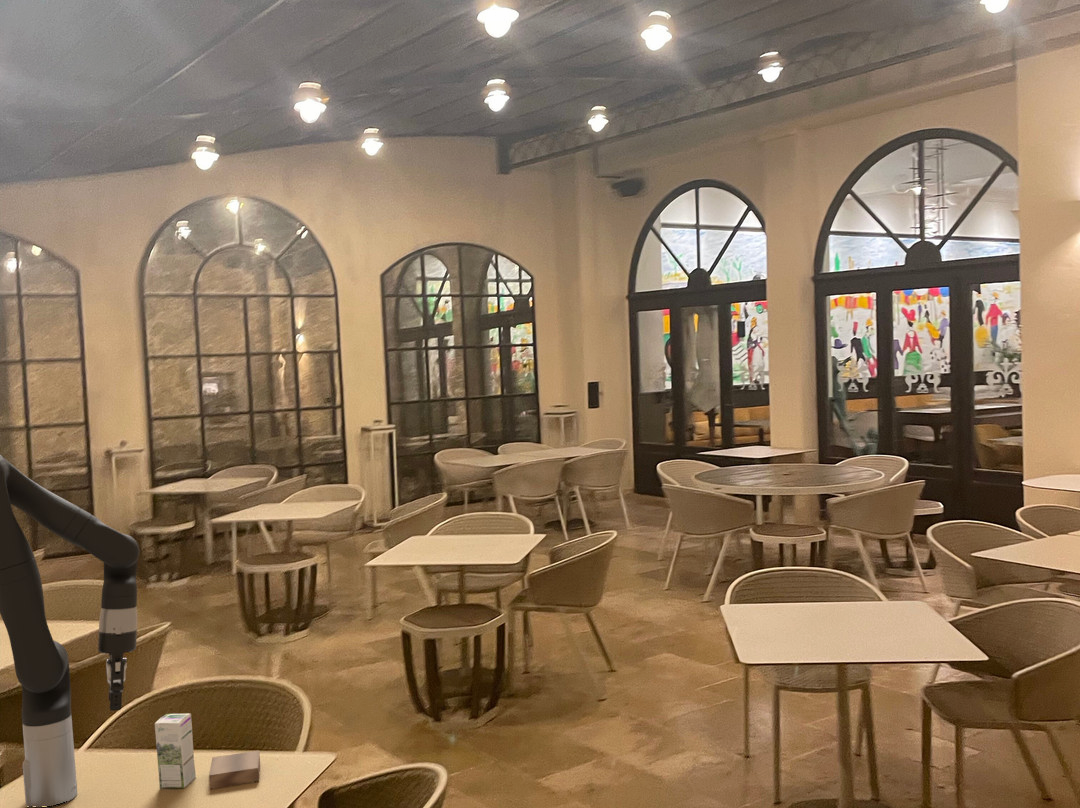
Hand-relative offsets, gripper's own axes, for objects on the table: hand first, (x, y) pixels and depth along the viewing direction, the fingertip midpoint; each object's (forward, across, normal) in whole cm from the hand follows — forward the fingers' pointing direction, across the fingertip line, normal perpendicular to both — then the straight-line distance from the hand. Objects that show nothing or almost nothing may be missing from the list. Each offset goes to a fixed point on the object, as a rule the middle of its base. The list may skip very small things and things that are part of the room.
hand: (114, 705), depth 207 cm
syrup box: (+17, +2, +13) cm, 22 cm away
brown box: (+16, +6, +25) cm, 30 cm away
